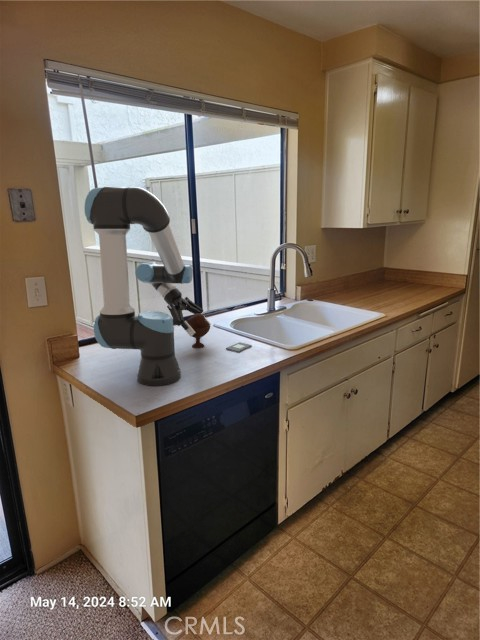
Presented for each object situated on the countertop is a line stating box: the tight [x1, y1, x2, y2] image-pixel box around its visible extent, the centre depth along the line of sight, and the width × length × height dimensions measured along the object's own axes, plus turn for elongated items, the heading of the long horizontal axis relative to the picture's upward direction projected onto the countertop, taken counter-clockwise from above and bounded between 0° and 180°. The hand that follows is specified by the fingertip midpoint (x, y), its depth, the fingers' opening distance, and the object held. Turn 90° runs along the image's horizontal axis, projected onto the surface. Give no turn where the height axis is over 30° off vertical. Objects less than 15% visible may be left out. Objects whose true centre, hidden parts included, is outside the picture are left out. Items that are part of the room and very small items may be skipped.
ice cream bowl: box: [185, 313, 211, 349], centre depth 176 cm, size 11×11×15 cm
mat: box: [225, 342, 253, 353], centre depth 176 cm, size 10×7×1 cm
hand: (201, 330), depth 175 cm, fingers open, 13 cm apart
